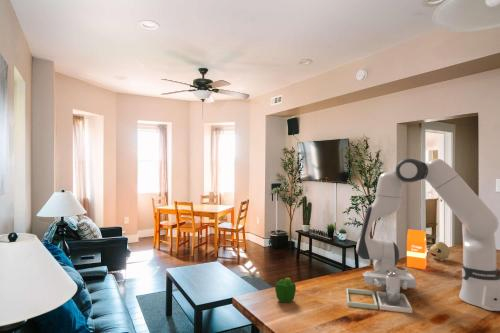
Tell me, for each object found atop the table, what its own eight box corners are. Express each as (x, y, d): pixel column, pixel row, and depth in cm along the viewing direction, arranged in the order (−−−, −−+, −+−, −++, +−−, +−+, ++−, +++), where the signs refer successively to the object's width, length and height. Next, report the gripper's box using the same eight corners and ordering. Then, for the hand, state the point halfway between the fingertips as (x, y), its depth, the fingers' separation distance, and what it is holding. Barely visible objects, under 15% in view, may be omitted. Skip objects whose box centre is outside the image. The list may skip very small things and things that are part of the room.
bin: (373, 297, 132) (373, 290, 132) (377, 313, 119) (377, 305, 119) (346, 295, 135) (346, 288, 135) (347, 309, 122) (347, 302, 122)
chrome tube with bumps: (398, 301, 125) (398, 271, 125) (401, 306, 120) (400, 275, 120) (385, 299, 127) (385, 270, 127) (387, 305, 122) (386, 274, 122)
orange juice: (409, 262, 178) (408, 228, 178) (426, 265, 173) (426, 229, 173) (406, 266, 172) (406, 230, 172) (424, 269, 167) (424, 232, 167)
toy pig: (424, 259, 185) (423, 241, 185) (436, 256, 190) (436, 239, 190) (440, 263, 176) (440, 245, 176) (453, 260, 181) (453, 242, 181)
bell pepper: (271, 298, 132) (271, 275, 132) (288, 295, 136) (288, 272, 136) (281, 306, 125) (281, 281, 125) (299, 302, 128) (298, 278, 128)
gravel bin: (404, 300, 129) (404, 293, 129) (412, 316, 115) (412, 308, 115) (376, 298, 132) (375, 291, 132) (380, 313, 118) (380, 305, 118)
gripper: (362, 265, 142) (364, 276, 128) (411, 269, 136) (419, 280, 123) (362, 279, 142) (364, 291, 128) (411, 283, 136) (419, 296, 123)
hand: (391, 286), depth 125 cm, fingers open, 8 cm apart
